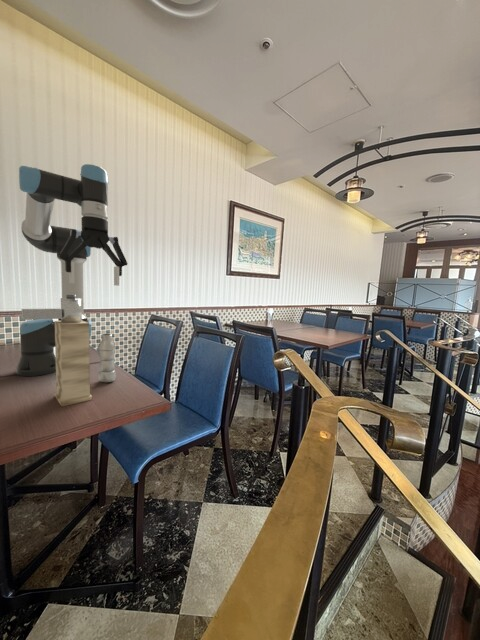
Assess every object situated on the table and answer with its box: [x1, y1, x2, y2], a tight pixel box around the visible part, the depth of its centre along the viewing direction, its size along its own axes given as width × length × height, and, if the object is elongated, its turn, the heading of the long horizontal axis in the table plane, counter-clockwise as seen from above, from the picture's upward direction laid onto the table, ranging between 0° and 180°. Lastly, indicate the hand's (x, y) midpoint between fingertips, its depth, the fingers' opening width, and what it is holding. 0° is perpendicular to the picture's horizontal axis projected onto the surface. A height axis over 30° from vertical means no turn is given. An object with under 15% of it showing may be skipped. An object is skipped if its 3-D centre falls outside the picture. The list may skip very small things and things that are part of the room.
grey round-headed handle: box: [21, 295, 82, 323], centre depth 86 cm, size 6×16×9 cm, turn 135°
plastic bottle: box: [97, 333, 117, 383], centre depth 109 cm, size 6×7×20 cm
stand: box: [54, 320, 93, 407], centre depth 91 cm, size 11×9×27 cm
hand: (95, 284), depth 87 cm, fingers open, 13 cm apart
